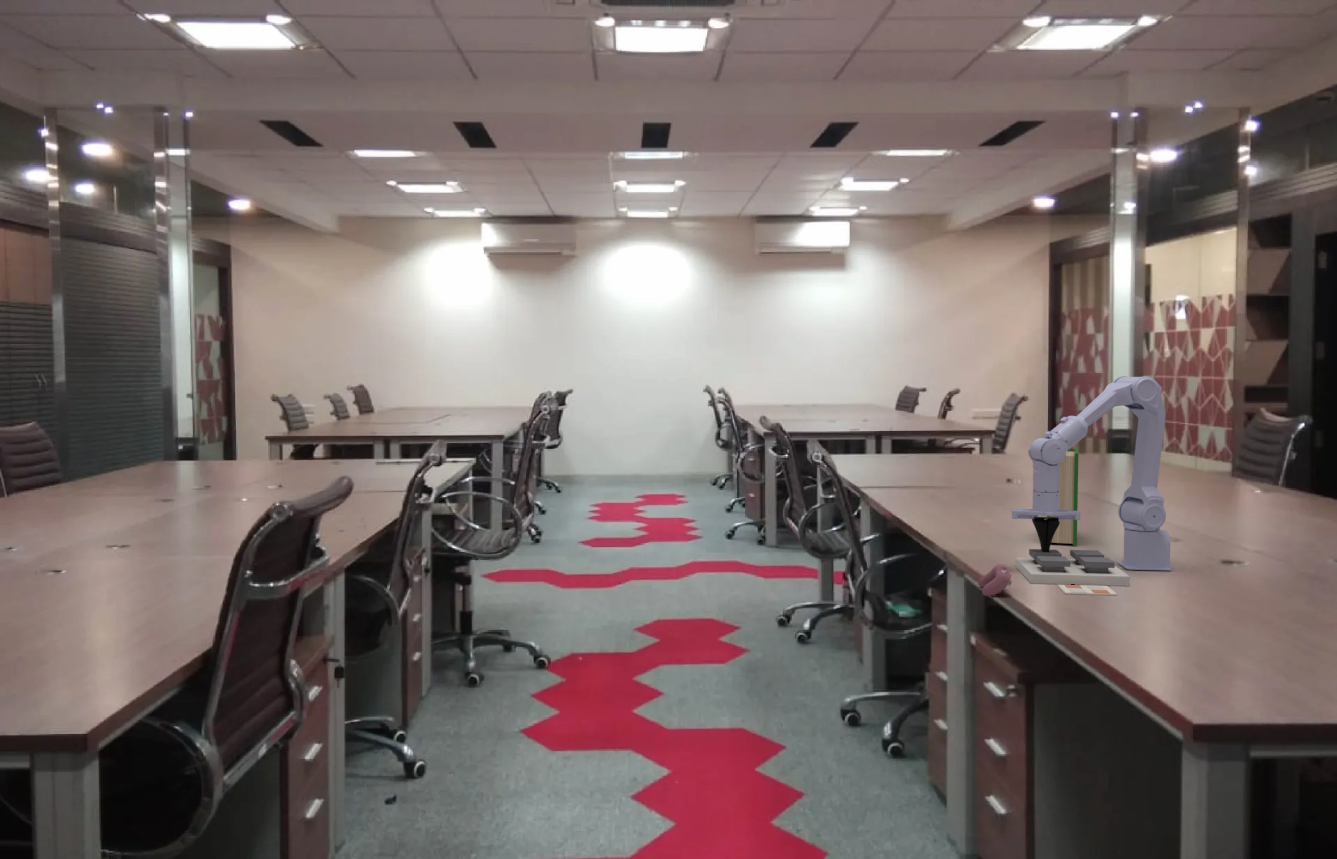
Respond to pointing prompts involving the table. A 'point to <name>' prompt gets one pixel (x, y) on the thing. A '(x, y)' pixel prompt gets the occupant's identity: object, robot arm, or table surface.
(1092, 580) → the button board
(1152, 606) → the table surface
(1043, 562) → the button
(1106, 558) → the button
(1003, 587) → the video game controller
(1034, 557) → the button
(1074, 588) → the pattern card
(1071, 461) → the hardback book
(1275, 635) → the table surface
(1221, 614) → the table surface
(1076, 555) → the button
